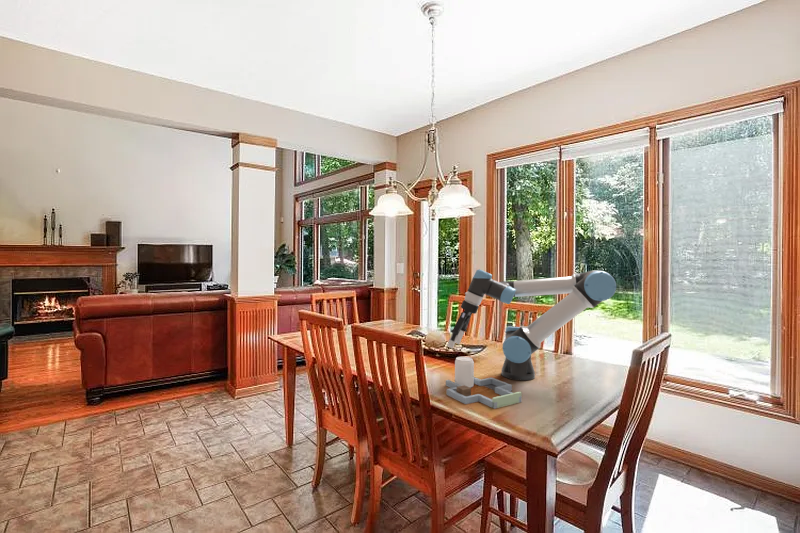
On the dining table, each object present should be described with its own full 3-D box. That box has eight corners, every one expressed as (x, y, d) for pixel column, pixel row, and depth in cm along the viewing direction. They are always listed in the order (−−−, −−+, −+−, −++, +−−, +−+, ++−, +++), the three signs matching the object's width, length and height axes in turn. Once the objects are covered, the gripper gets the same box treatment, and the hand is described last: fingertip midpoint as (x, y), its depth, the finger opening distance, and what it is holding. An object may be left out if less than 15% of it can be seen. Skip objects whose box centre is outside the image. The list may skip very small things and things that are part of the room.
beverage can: (452, 383, 174) (453, 356, 174) (470, 382, 175) (471, 356, 175) (457, 389, 166) (457, 361, 166) (475, 389, 167) (476, 360, 166)
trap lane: (433, 388, 167) (433, 382, 167) (481, 378, 181) (481, 373, 180) (480, 412, 141) (480, 405, 141) (533, 399, 154) (533, 393, 154)
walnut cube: (456, 396, 156) (456, 386, 156) (464, 395, 158) (464, 385, 158) (462, 399, 153) (462, 389, 153) (470, 398, 155) (470, 388, 155)
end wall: (492, 408, 145) (492, 397, 145) (519, 401, 152) (519, 391, 152) (494, 409, 144) (494, 398, 144) (521, 402, 151) (521, 392, 151)
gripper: (469, 298, 191) (452, 338, 193) (457, 299, 168) (438, 344, 170) (483, 305, 189) (466, 345, 191) (474, 307, 165) (454, 352, 167)
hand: (453, 345), depth 180 cm, fingers open, 13 cm apart
